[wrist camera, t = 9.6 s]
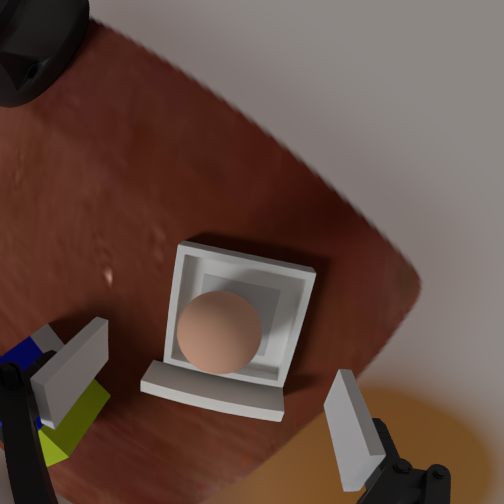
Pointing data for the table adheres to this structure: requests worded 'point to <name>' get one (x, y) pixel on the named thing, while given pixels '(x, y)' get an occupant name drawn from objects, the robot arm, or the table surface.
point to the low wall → (213, 392)
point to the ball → (219, 332)
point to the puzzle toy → (81, 413)
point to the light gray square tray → (252, 290)
